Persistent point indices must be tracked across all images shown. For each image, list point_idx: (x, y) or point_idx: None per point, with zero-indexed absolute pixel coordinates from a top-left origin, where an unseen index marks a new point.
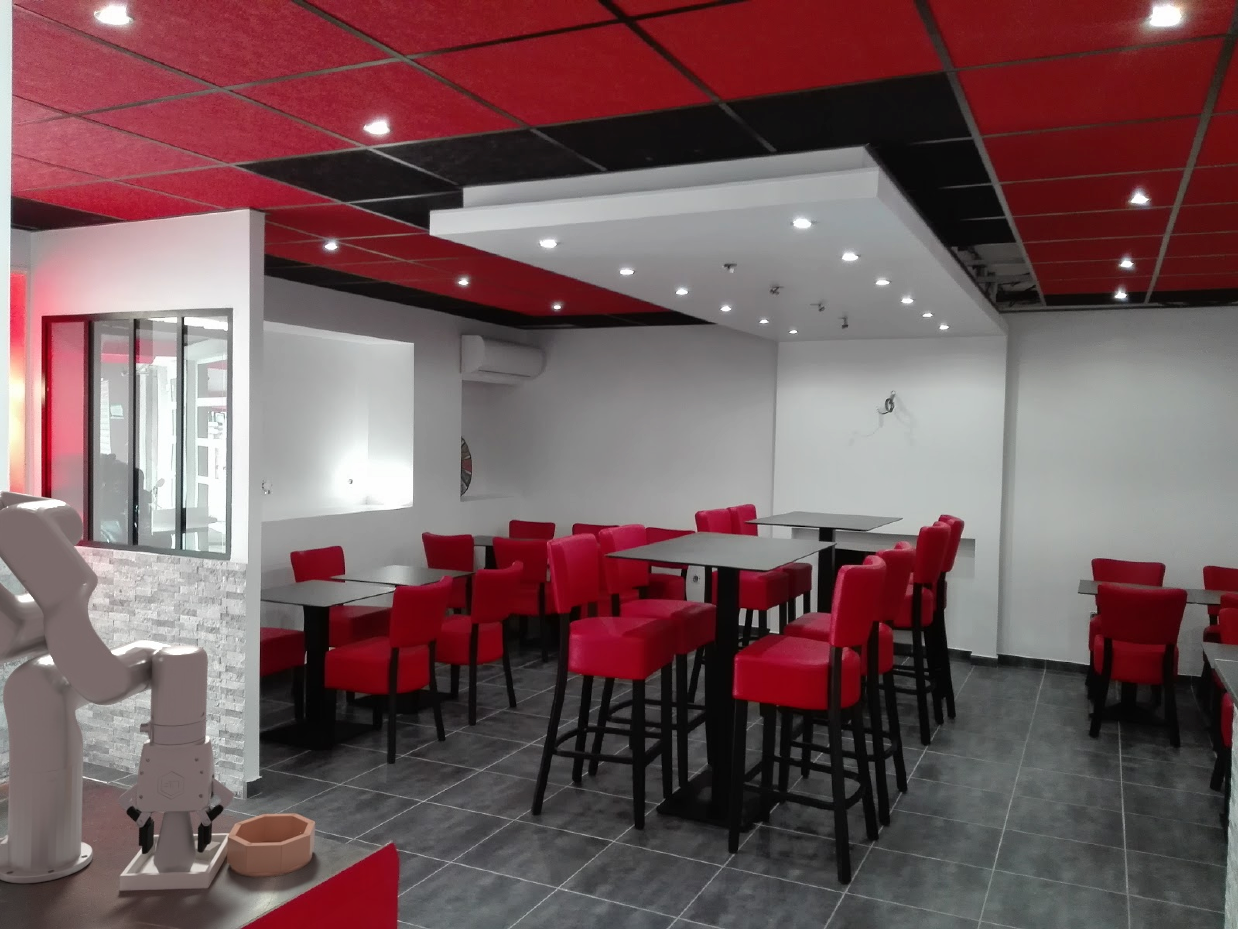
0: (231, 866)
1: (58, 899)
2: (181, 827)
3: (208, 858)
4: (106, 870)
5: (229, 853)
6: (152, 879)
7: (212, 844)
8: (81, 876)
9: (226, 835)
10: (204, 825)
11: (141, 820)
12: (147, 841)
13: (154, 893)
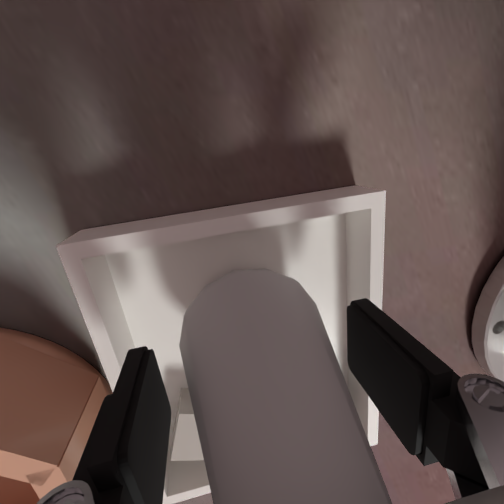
0: (79, 365)
1: (500, 121)
2: (232, 429)
3: (182, 393)
4: (424, 298)
5: (70, 399)
6: (271, 205)
7: (190, 446)
8: (472, 259)
9: (169, 494)
10: (77, 483)
11: (499, 415)
12: (375, 333)
13: (247, 180)
